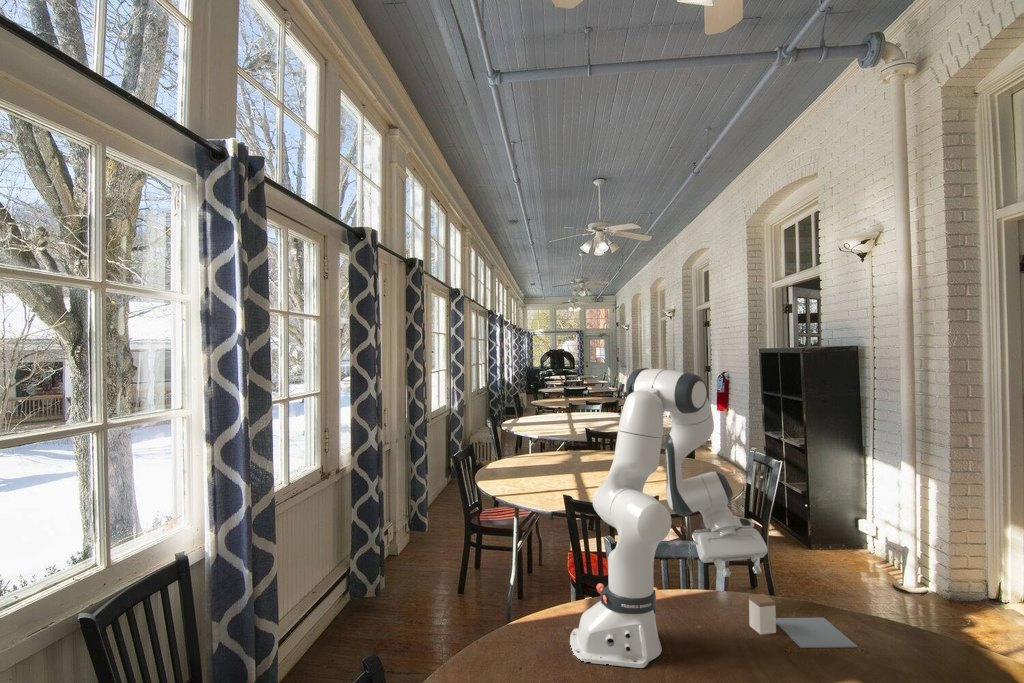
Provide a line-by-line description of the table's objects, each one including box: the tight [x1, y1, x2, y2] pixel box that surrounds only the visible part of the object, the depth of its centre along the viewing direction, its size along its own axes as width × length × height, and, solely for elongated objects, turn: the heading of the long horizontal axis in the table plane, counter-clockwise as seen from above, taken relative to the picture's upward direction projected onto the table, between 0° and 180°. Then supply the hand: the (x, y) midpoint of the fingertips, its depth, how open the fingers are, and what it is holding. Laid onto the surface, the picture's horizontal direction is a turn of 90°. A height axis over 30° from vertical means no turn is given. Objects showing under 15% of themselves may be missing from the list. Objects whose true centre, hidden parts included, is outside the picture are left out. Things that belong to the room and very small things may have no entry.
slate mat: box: [776, 617, 859, 649], centre depth 135 cm, size 14×14×1 cm
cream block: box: [748, 593, 777, 635], centre depth 137 cm, size 4×4×8 cm
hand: (743, 574), depth 145 cm, fingers open, 8 cm apart
